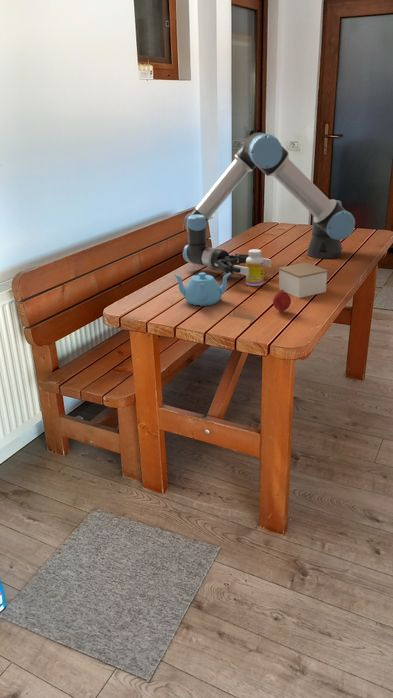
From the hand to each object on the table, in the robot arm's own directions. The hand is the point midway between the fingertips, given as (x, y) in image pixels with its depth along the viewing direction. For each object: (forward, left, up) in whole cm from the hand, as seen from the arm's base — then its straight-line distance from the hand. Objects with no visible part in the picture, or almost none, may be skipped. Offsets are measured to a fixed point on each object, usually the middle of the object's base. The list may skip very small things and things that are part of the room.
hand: (259, 267), depth 213 cm
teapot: (+27, +5, -7) cm, 28 cm away
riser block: (-9, +14, -7) cm, 18 cm away
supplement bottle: (+1, -2, -7) cm, 7 cm away
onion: (+10, +28, -7) cm, 30 cm away
